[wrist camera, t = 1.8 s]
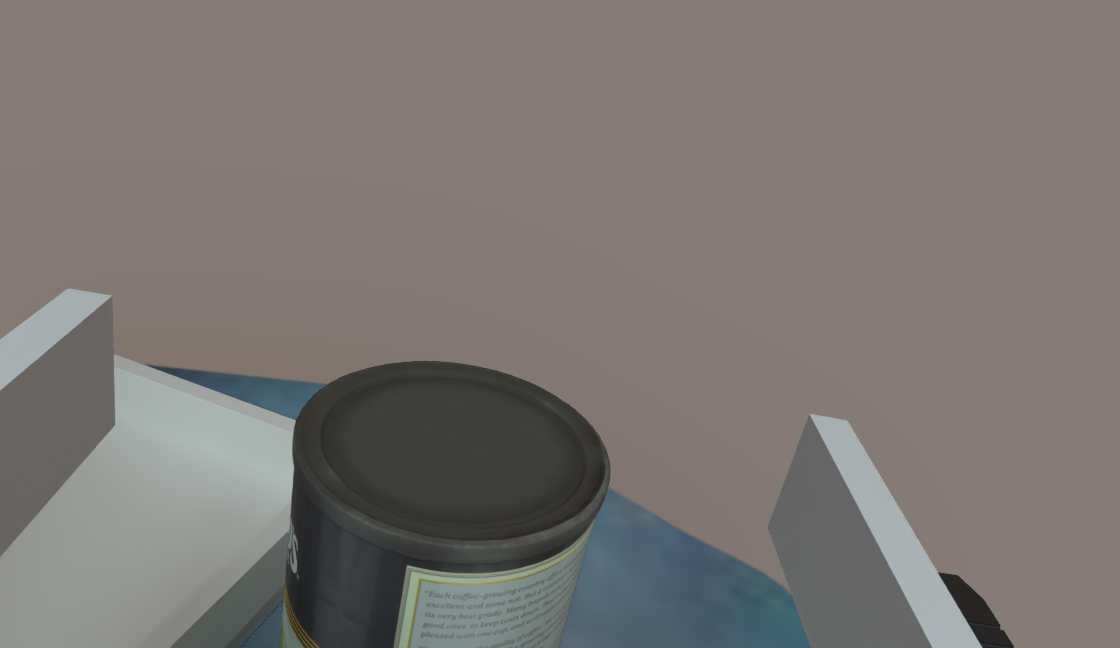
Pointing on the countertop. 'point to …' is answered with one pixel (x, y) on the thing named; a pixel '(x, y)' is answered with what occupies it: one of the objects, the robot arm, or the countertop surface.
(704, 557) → the countertop surface
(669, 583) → the countertop surface
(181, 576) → the box
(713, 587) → the countertop surface
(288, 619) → the coffee can
